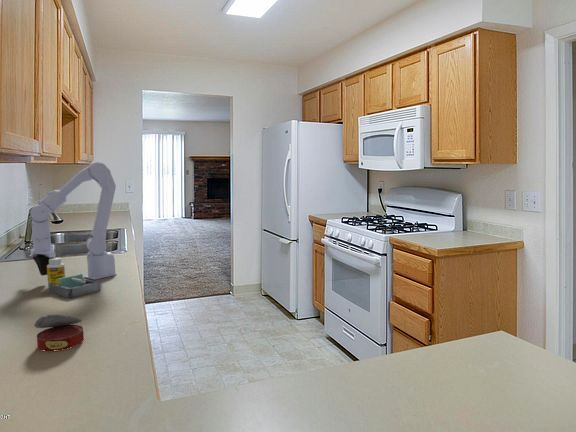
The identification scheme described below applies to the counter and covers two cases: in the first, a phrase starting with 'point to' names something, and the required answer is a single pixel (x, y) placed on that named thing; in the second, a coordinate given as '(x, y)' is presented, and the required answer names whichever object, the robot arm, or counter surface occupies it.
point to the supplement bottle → (55, 270)
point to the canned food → (58, 332)
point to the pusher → (72, 281)
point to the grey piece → (75, 289)
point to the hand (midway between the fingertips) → (44, 274)
